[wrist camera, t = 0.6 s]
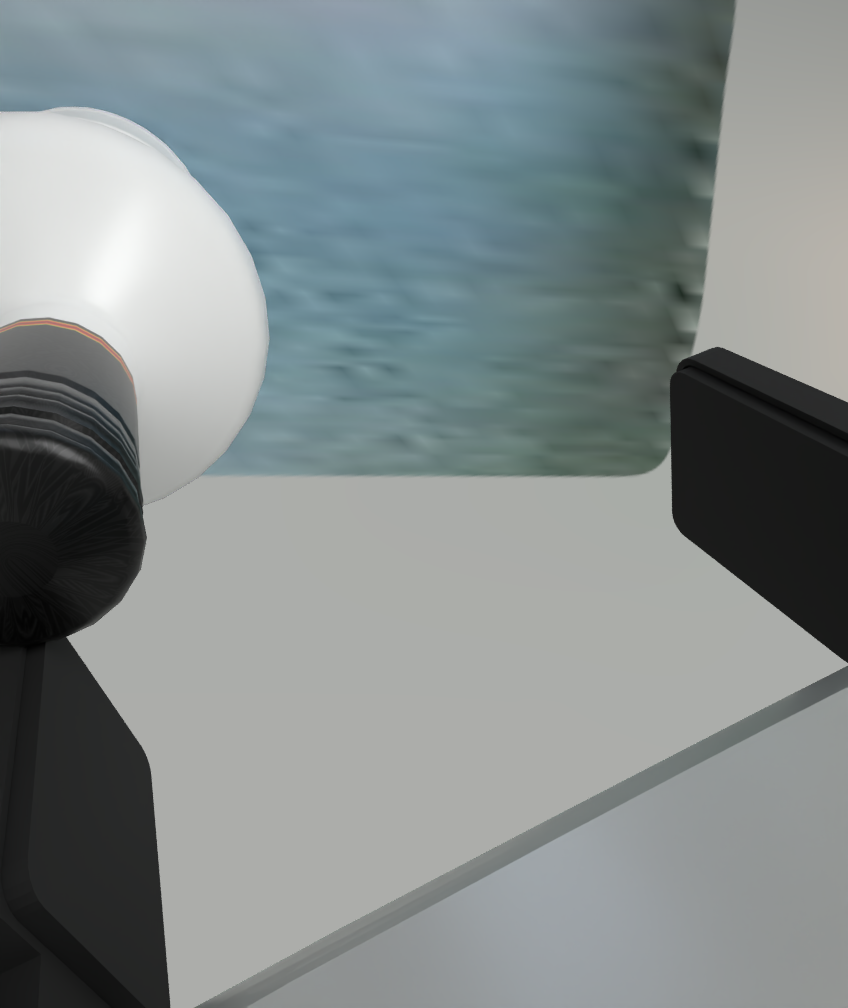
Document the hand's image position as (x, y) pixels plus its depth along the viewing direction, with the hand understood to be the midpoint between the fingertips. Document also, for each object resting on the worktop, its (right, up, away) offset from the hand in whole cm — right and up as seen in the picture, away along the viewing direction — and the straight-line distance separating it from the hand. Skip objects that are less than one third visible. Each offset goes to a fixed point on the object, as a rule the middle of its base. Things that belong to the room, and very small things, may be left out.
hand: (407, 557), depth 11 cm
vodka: (-14, +13, +22) cm, 29 cm away
